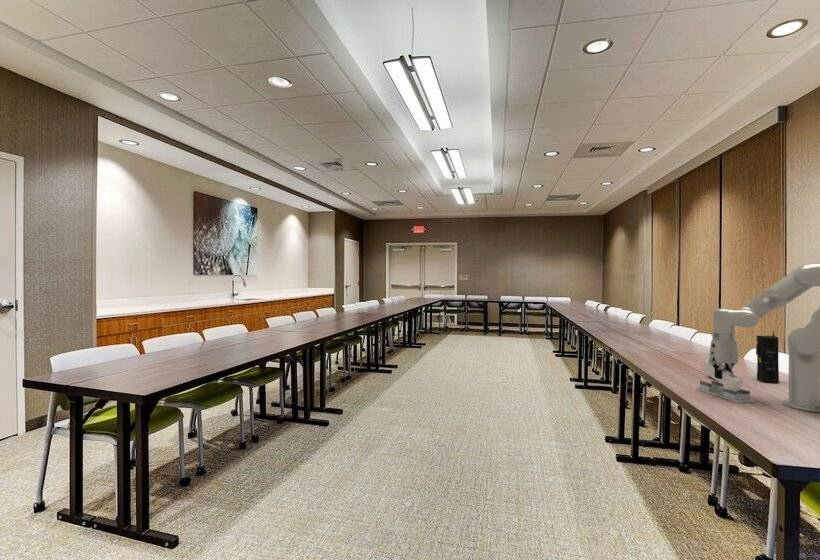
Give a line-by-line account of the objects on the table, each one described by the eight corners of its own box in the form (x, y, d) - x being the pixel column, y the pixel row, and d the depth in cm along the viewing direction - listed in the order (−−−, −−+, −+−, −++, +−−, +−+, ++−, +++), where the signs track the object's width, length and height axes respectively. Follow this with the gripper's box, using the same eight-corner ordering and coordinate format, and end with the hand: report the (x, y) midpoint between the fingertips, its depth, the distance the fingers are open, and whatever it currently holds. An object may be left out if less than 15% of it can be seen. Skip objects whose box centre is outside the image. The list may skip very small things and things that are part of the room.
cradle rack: (754, 402, 163) (754, 392, 163) (736, 403, 162) (736, 393, 162) (711, 388, 183) (711, 379, 183) (696, 389, 182) (696, 380, 182)
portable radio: (760, 382, 192) (760, 332, 192) (753, 379, 198) (753, 330, 198) (780, 383, 190) (780, 332, 190) (772, 380, 196) (772, 330, 195)
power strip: (739, 390, 166) (743, 380, 165) (732, 390, 166) (736, 380, 164) (708, 369, 181) (711, 360, 180) (701, 370, 181) (705, 360, 179)
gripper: (714, 338, 167) (713, 380, 168) (748, 337, 169) (747, 379, 170) (699, 335, 175) (698, 376, 175) (732, 335, 177) (731, 375, 177)
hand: (722, 377), depth 172 cm, fingers closed on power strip, 3 cm apart
